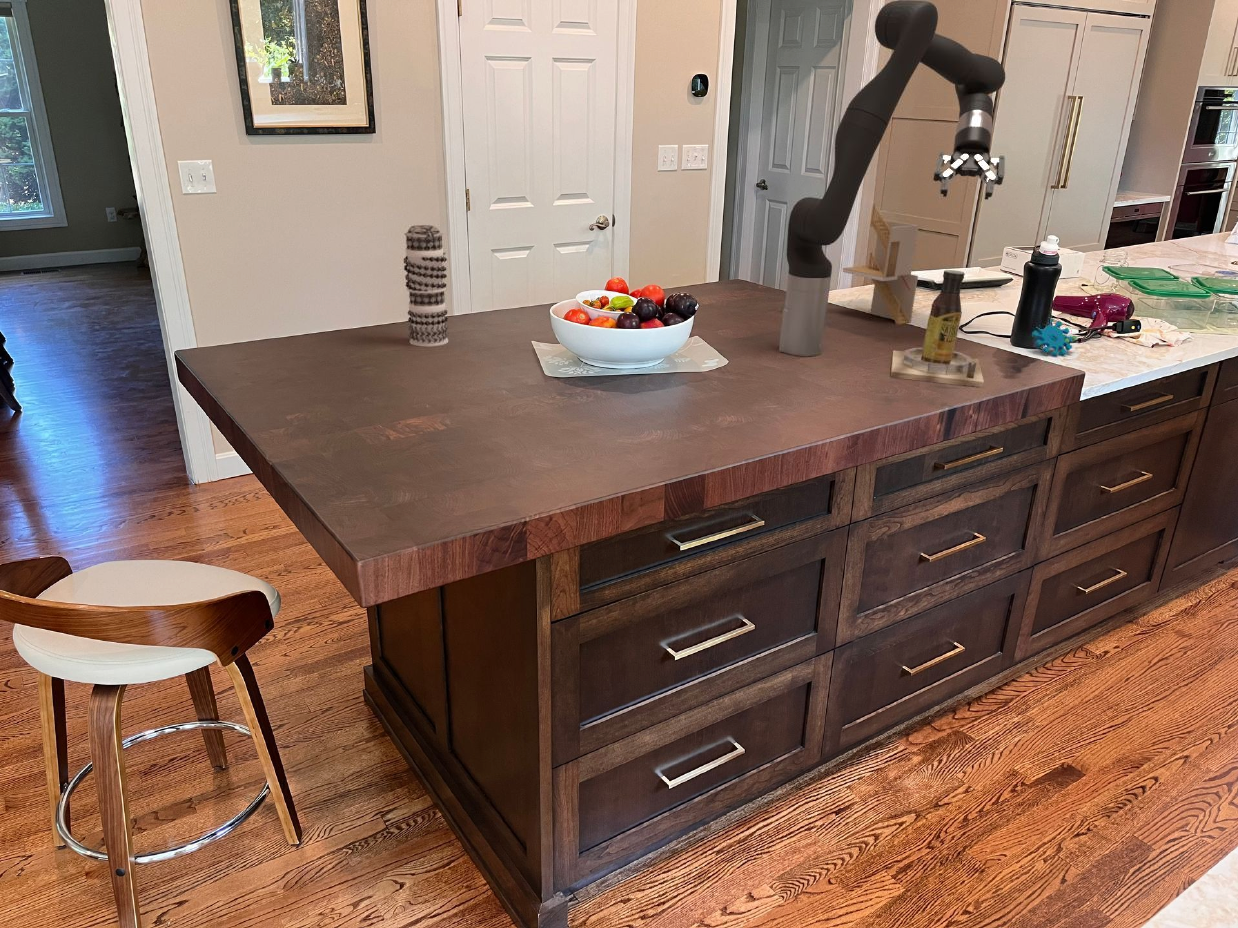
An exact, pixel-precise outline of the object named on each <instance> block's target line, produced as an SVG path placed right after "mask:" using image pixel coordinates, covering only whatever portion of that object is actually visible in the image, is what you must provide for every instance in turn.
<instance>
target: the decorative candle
mask: <svg viewBox="0 0 1238 928" xmlns="http://www.w3.org/2000/svg"><path fill="white" fill-rule="evenodd" d="M403 235H404V236H405V239H406V240H405V243H406V247H405V257H404V258H403V263H404V265H403V267H404V268H403V270H404V271H405V272H406V273H407V274H405V276H404V277H405V287H406V291H408V293H409V295H408V297H409V302H408V311H407V315H408V316H409V317H408V319H407V321H408V322H409V323H410V324H409V325H408V327H407V328H408V331H409V333H408V337H409V338H410V340H409V344H411V345H413V346H415V347H424V348H426V347H427V348H428V347H429V348H430V347H431V348H432V347H440V346H444V345H446V344H448V342H449V338H448V337H449V332H448V330H449V325H448V324H447V323H446V322H448V319H449V318H448V317H447V316H446V315H448V310H447V309H446V308H447V306H446V300H445V291H447V283H445V282H444V279H446V278H447V274H446V273H444V272H446V271H447V270H448V269H447V267H446V266H445V265H443V263H445V262H447V261H448V259H447V258H446V256H445V255H446V252H444V248H443V236H444V233H442V232H440V230H439V228H438V227H437V226H435V225H430V224H429V225H428V224H427V225H426V224H425V225H423V224H421V225H420V224H419V225H418V224H417V225H412V226H410V227H409V228H408V230H407V232H405V233H404V234H403Z"/></svg>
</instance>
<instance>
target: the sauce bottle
mask: <svg viewBox="0 0 1238 928" xmlns="http://www.w3.org/2000/svg"><path fill="white" fill-rule="evenodd" d="M942 277H943V280H942V285H941V288H940V293H939V294H938V295H937V296H936V297H935V299H934V300H933V302H932V304H931V310H930V313H929V316H928V320H927V326H926V330H925V334H924V339H923V344H922V347H921V348H922V353H921V354H922V357H921V360H923V361H927V362H931V363H940V364H950V362H951V359H952V355H953V351H954V349H955V346H956V345H955V344H956V341H957V337H958V331H959V327H960V324H961V323H960V322H961V318H962V313H963V312H962V305H961V303H962V301H961V288H962V283H963V280H964V279H965V272H964V271H961V270H955V269H945V270H944V271H943V275H942Z"/></svg>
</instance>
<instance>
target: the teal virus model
mask: <svg viewBox="0 0 1238 928" xmlns="http://www.w3.org/2000/svg"><path fill="white" fill-rule="evenodd" d="M1049 318H1050V325H1048V326H1047V325H1045V326H1046V327H1045V328H1044V329H1040V328H1041V327H1040V328H1038V327H1036V328H1038V330H1039V332H1038V331H1037V330H1033V331H1032V332H1031V337H1033V338H1037V340H1036V341H1034V343H1035V345H1036V347H1038V346H1040V345H1044V347H1042V349H1041V351H1042V352H1043V353H1044V354H1047V353H1048V352H1049V351H1050V349H1053V351H1051V353H1050V354H1051V356H1052V357H1057V356H1058V355H1060V356H1066V355H1067V354H1068V352H1069V351H1070V350H1071V349H1072V348H1073V345H1072V344H1071V343H1074V342H1075V341H1077V340H1078V337H1077V336H1076V335H1073V336H1071V335H1069V336H1068V334H1070V329H1069V328H1068V327H1065V328H1063V329H1061V327H1062V326H1063V325H1064V324H1063V323H1062V321H1060V320H1058V321H1056V322H1055V323H1054V324H1055V325H1052V323H1053V322H1054V318H1051V317H1049Z"/></svg>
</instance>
